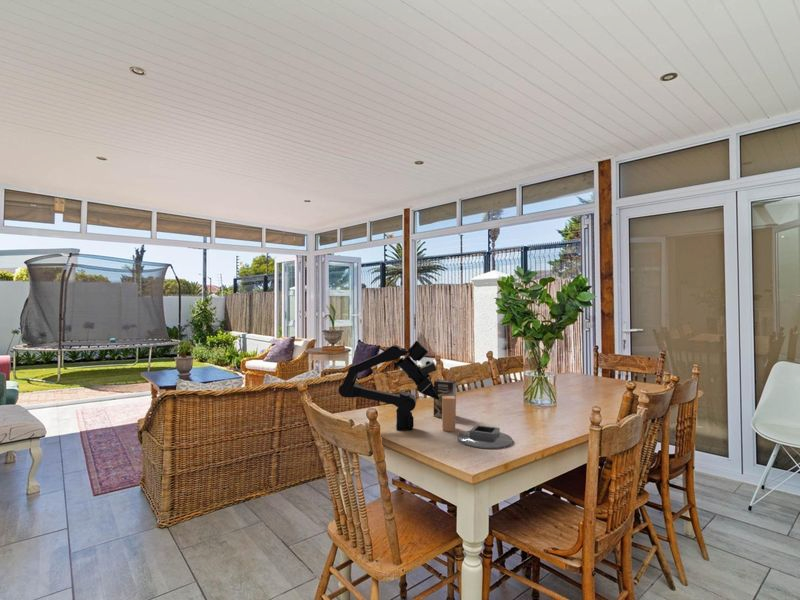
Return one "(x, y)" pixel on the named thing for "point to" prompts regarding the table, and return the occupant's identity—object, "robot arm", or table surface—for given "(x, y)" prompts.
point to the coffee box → (443, 394)
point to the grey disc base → (485, 438)
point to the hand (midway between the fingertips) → (438, 396)
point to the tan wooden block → (448, 413)
